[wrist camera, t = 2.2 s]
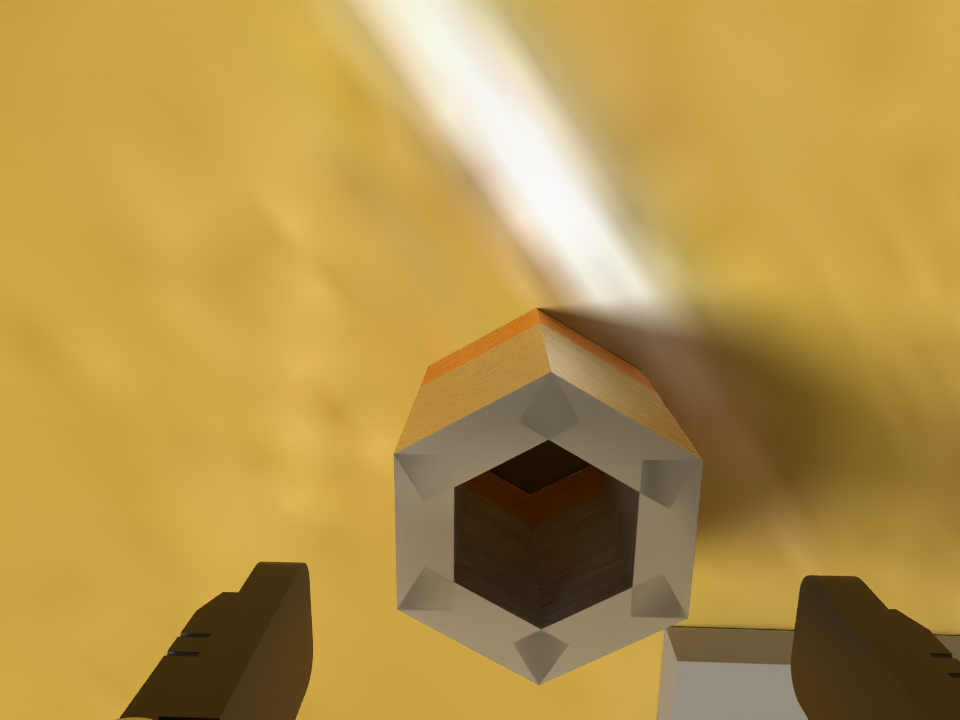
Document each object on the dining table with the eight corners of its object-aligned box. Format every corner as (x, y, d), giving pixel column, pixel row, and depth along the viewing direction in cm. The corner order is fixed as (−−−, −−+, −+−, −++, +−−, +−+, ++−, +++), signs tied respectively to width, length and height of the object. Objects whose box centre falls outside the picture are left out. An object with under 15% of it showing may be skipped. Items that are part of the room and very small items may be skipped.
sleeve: (429, 533, 20) (398, 680, 14) (428, 306, 18) (391, 368, 13) (629, 538, 20) (681, 690, 14) (646, 310, 18) (712, 375, 12)
